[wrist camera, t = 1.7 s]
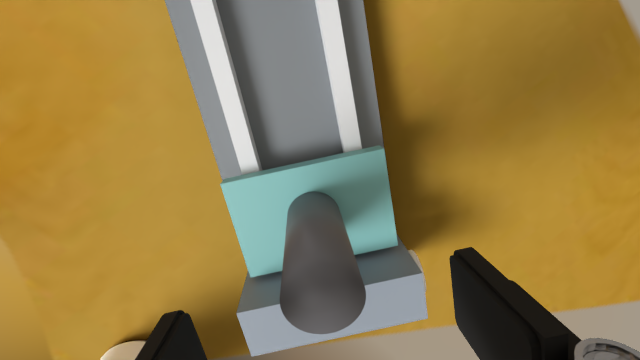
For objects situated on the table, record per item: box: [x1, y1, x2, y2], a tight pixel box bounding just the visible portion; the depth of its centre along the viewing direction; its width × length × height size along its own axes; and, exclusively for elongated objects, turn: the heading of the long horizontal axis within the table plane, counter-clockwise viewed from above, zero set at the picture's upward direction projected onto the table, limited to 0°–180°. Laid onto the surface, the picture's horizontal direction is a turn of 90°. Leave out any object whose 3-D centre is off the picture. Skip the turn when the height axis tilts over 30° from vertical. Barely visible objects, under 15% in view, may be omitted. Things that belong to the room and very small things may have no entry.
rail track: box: [165, 0, 428, 356], centre depth 16 cm, size 24×10×6 cm, turn 12°
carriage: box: [220, 145, 398, 334], centre depth 14 cm, size 6×9×8 cm, turn 102°
